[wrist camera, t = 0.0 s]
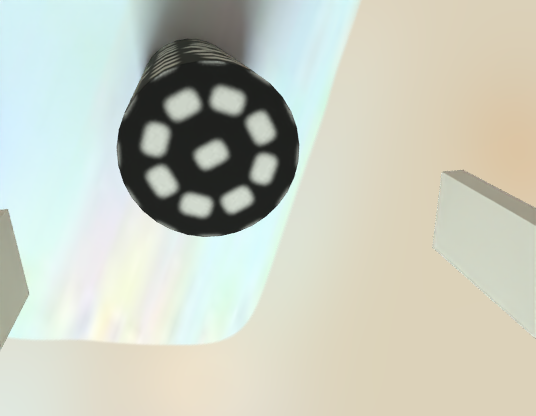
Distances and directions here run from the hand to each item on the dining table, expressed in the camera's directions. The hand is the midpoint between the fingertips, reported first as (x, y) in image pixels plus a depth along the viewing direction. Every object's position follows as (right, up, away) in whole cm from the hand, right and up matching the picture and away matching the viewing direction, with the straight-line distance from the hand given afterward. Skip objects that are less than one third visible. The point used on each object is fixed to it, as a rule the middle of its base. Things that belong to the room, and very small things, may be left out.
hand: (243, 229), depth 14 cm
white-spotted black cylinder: (-6, +11, +26) cm, 28 cm away
